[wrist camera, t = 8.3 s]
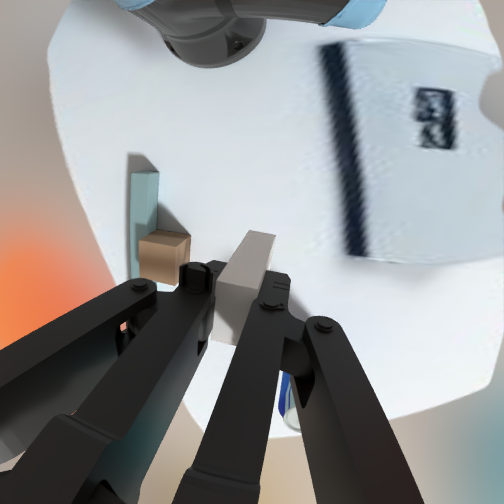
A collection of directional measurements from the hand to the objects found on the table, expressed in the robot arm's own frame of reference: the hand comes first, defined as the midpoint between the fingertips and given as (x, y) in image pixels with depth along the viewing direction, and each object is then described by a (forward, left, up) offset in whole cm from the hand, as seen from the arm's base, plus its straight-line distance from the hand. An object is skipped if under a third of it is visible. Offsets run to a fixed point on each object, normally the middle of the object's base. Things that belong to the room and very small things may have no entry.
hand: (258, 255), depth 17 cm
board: (+11, -21, -26) cm, 35 cm away
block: (+12, -16, -26) cm, 33 cm away
